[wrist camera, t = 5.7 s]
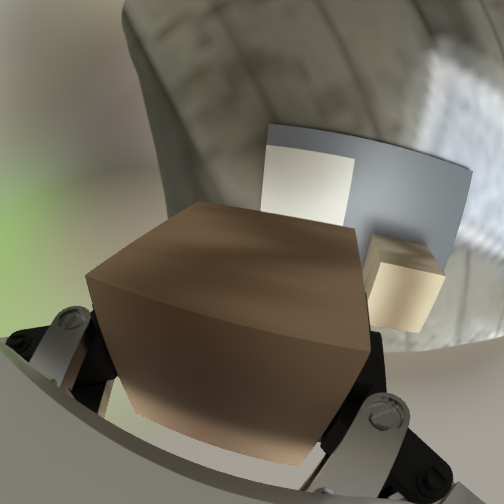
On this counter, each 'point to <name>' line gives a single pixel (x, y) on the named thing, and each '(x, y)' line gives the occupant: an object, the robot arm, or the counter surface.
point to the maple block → (400, 283)
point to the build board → (364, 187)
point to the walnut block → (237, 326)
